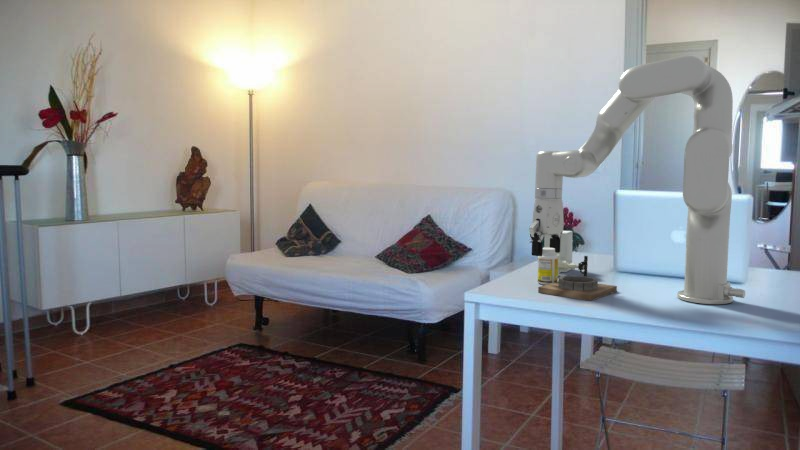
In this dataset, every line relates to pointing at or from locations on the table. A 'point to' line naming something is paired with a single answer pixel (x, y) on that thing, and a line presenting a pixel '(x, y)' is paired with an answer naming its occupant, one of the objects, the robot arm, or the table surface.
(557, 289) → the collar plate
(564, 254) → the supplement box
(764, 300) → the table surface
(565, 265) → the valve
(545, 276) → the supplement bottle
